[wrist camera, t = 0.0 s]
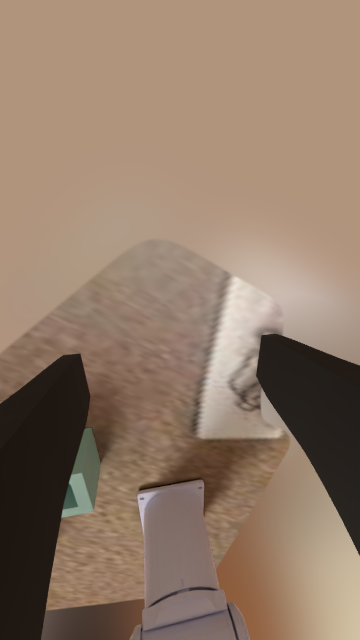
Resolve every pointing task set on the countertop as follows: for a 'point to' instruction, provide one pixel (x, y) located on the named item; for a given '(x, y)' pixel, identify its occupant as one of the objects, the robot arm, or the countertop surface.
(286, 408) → the robot arm
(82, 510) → the collar
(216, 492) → the countertop surface
